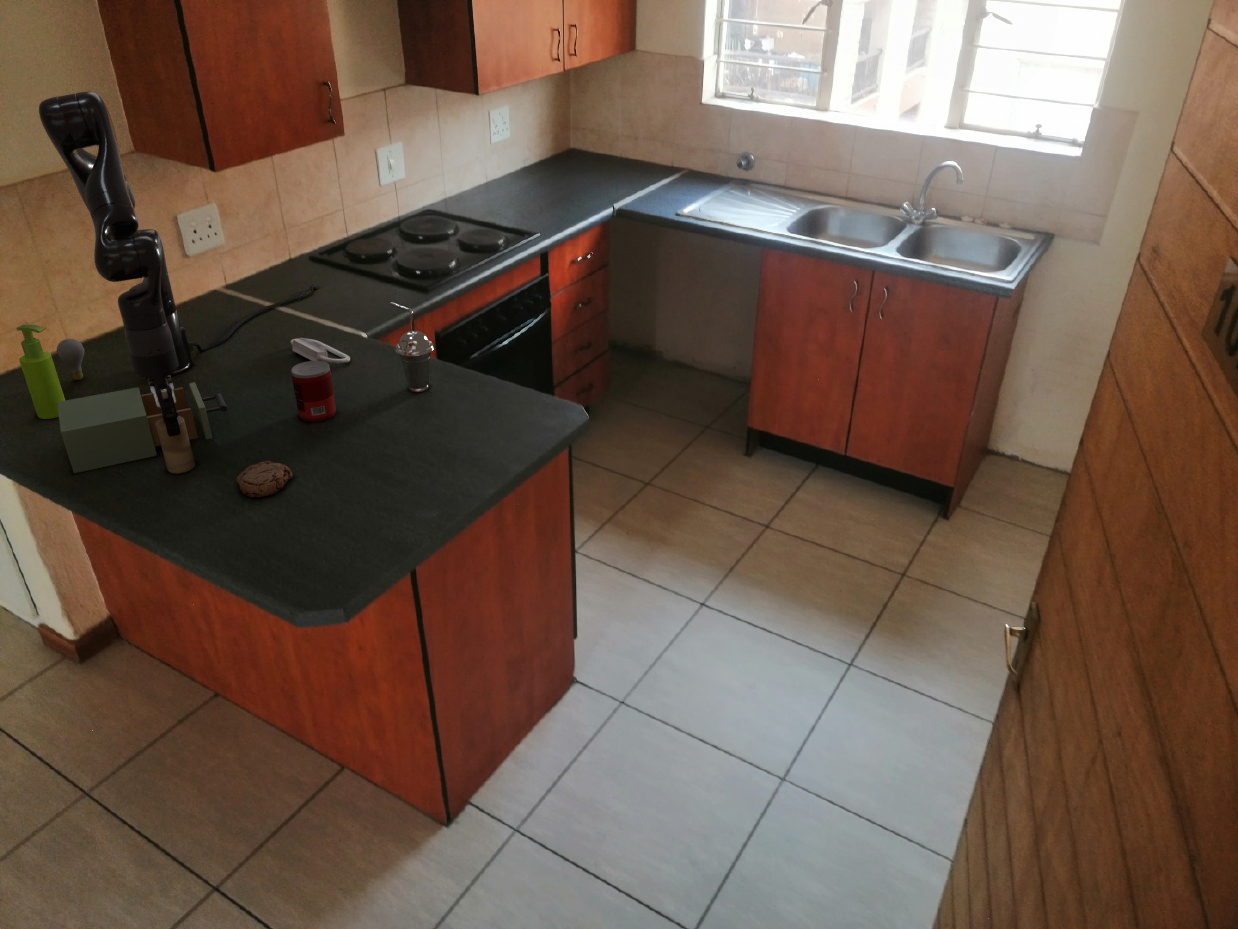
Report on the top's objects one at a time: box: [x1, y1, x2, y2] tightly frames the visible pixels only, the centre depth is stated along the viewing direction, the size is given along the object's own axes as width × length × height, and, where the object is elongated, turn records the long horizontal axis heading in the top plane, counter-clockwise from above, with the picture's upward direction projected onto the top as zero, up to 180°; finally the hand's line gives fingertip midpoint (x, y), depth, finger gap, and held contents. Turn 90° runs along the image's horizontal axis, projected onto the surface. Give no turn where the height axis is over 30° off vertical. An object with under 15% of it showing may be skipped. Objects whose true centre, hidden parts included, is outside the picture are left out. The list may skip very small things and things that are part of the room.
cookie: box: [236, 460, 294, 498], centre depth 177 cm, size 10×11×3 cm
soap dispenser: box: [16, 324, 66, 420], centre depth 197 cm, size 6×7×20 cm
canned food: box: [290, 360, 337, 423], centre depth 200 cm, size 8×8×11 cm
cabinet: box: [57, 387, 158, 474], centre depth 187 cm, size 15×15×9 cm
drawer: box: [140, 382, 228, 448], centre depth 193 cm, size 18×14×7 cm
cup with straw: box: [389, 301, 435, 393], centre depth 211 cm, size 8×9×20 cm
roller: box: [156, 416, 196, 474], centre depth 180 cm, size 5×5×12 cm
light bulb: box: [56, 338, 85, 381], centre depth 215 cm, size 6×6×10 cm
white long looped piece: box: [289, 337, 351, 364], centre depth 230 cm, size 20×8×4 cm, turn 47°
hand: (171, 425), depth 178 cm, fingers open, 8 cm apart
